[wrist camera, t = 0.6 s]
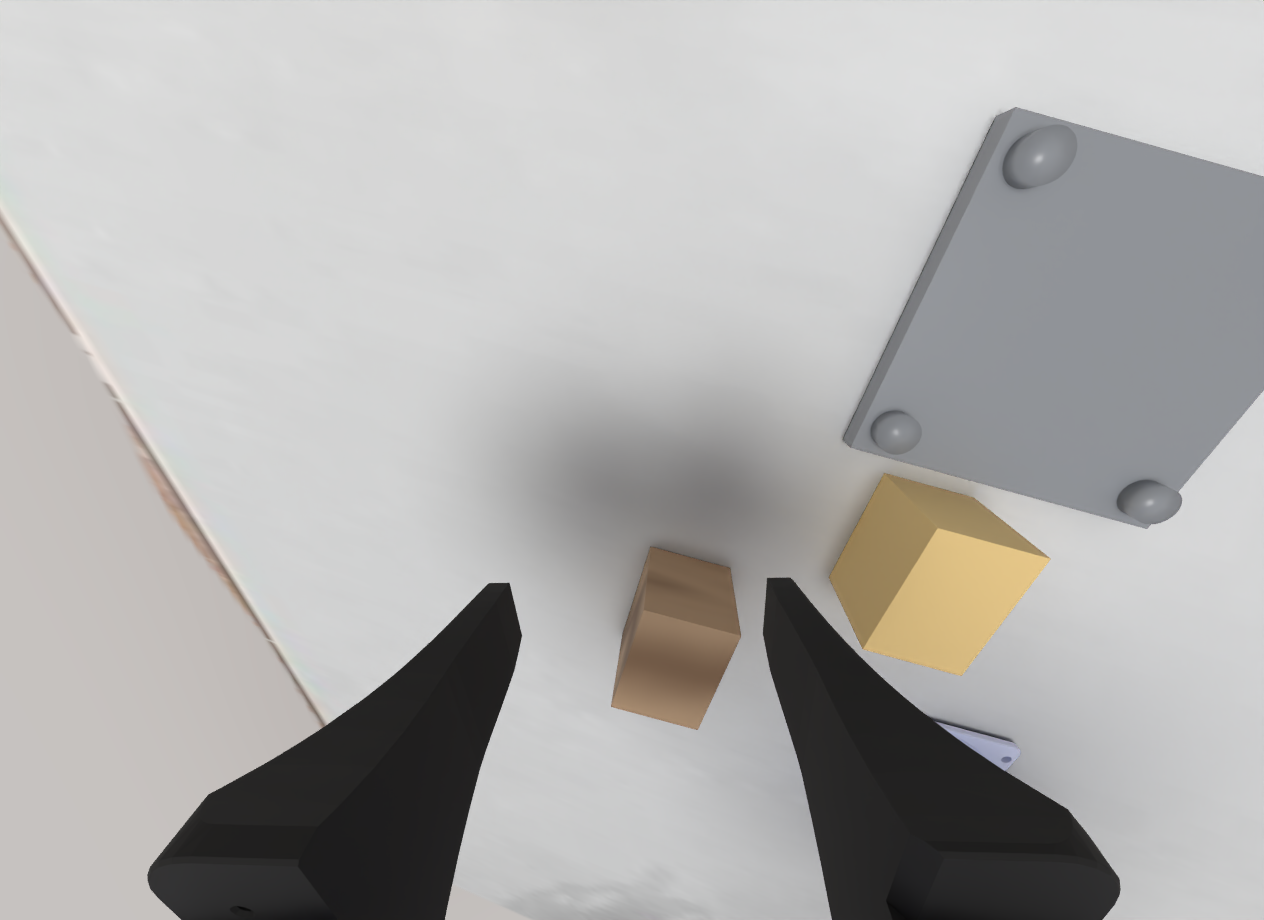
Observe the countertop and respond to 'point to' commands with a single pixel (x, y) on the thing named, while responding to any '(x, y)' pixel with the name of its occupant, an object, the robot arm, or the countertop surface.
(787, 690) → the robot arm
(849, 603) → the ochre brick
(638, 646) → the walnut brick
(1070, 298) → the baseplate
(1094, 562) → the countertop surface
